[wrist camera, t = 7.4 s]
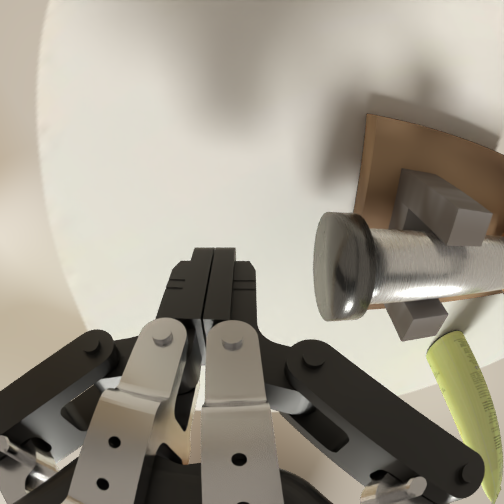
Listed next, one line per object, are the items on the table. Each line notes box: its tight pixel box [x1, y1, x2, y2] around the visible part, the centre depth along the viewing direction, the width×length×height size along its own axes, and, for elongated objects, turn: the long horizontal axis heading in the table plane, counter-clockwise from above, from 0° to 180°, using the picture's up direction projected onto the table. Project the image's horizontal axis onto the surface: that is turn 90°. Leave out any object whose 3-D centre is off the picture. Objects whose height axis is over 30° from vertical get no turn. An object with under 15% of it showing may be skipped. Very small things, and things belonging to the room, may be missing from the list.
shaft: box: [313, 212, 504, 321], centre depth 11 cm, size 5×19×5 cm, turn 89°
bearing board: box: [353, 114, 504, 341], centre depth 12 cm, size 12×20×7 cm, turn 89°
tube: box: [426, 331, 503, 504], centre depth 14 cm, size 6×5×20 cm
